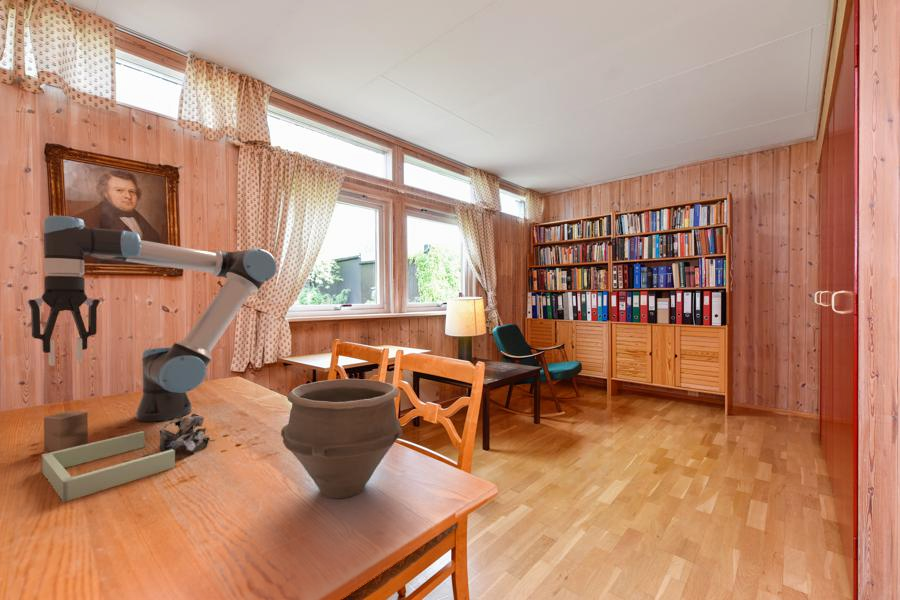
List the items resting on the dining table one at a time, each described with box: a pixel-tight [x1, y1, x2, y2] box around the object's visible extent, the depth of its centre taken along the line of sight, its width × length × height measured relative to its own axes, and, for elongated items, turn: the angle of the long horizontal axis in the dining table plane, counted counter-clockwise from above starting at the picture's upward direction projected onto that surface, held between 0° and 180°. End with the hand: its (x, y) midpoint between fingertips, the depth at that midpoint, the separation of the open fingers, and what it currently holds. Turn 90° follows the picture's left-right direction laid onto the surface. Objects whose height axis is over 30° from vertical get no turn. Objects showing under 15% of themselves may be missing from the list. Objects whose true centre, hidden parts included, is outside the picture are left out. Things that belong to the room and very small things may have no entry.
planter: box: [280, 378, 404, 500], centre depth 82 cm, size 25×24×22 cm
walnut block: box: [43, 410, 89, 453], centre depth 102 cm, size 6×6×9 cm
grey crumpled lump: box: [159, 413, 211, 455], centre depth 104 cm, size 12×11×15 cm
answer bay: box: [41, 430, 176, 503], centre depth 90 cm, size 19×22×4 cm
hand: (65, 363), depth 102 cm, fingers open, 4 cm apart
